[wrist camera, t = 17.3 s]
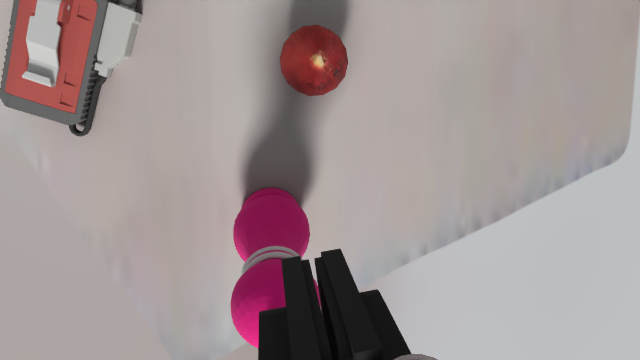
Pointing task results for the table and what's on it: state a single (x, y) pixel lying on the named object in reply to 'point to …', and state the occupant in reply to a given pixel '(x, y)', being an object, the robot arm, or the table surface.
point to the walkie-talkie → (65, 56)
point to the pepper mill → (265, 255)
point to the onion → (313, 60)
